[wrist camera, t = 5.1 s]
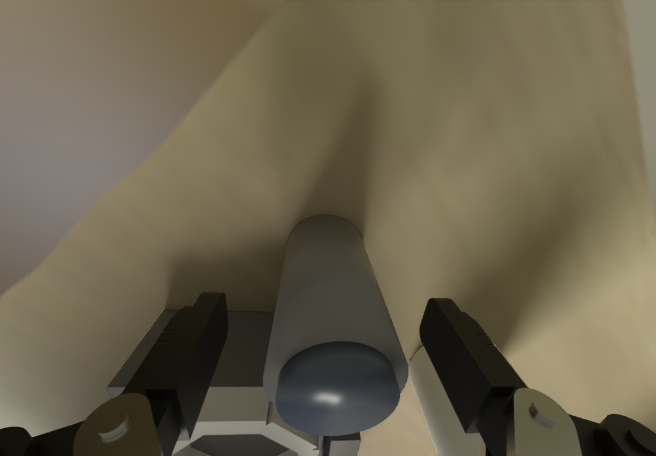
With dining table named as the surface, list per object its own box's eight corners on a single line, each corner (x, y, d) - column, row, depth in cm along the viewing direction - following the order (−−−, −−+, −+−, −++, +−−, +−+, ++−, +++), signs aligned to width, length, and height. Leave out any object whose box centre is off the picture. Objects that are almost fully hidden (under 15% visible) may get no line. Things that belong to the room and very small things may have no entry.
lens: (367, 215, 14) (432, 348, 6) (357, 280, 16) (399, 440, 8) (286, 213, 14) (254, 349, 6) (286, 279, 16) (262, 445, 8)
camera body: (348, 314, 17) (367, 421, 11) (337, 388, 21) (347, 502, 15) (164, 310, 16) (78, 426, 10) (183, 389, 20) (127, 512, 14)
